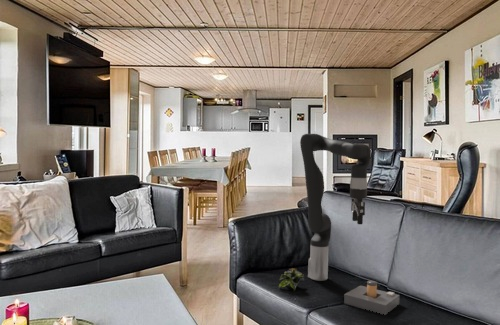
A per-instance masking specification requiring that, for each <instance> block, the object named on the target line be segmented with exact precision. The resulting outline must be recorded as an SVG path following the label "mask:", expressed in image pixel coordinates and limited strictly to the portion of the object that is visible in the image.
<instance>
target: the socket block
mask: <svg viewBox="0 0 500 325" xmlns="http://www.w3.org/2000/svg"><path fill="white" fill-rule="evenodd" d="M343 297H344V301H343V304H344V305H349V306H352V307H355V308H358V309H361V310H365V309H366V310H365V311H369V310H370V311H369V312H372V311H373V312H372V313H376V312H377V313H376V314H379V313H380V315H383V314H384V315H383V316H386V315H387V314H389V313H390V312H391V311H392V310H393V309H395V308H396V307H397V305H398V306H399V305H400V294H397V293H395V292H393V291H385V290H382V289H381V290H380V289H377V298H373V297H369V296H367V286H364V285H359V286H357V287H355V288H353V289H351V290H349V291H347V292H346V293H344V294H343ZM388 312H389V313H388Z"/></svg>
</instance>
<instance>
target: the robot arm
mask: <svg viewBox="0 0 500 325" xmlns="http://www.w3.org/2000/svg"><path fill="white" fill-rule="evenodd" d="M299 143H300V150H301V155H302V161H303V166H304V175H305V187H306V195H307V196H306V197H307V218H308V219H307V221H308V222H307V223H308V228H309V229H310V231H311V232H312V233H313V234H314V235H313V236H312V238H311V239H310V253H309V258H308V260H307V261H308V265H307V278H309V279H311V280H314V281H319V282H321V281H327V280H328V275H329V274H328V272H329V244H330V243H329V242H330V240H331V236H332V233H331V232H332V222H331V221H332V220H331V218H330V216H329V215H328V214H326V213H323V212H322V211H323V210H322V202H323V197H324V193H325V181H324V175H323V173H322V170H321V169H320V167H319V166H318V164H317V162H316V160H315V154H314V152H317V151H318V152H319V151H328V152H330V153H332V154H333V155H336V156H341V157H346V158H348V159H351V160H355V161H356V160H357V161H356V164H353V165H351V169H350V170H351V171H350V180H349V182H350V183H349V187H350V188H349V198H350V199H351V206H350V211H351V212H352V213H351V214H352V220H351V221H353V222H357V225H363V222H364V219H363V217H364V216H366V213H365V212H366V202H365V201H363V199H367V195H368V181H367V180H368V179H367V178H368V176H367V175H368V167H369V164H370V160H371V155H372V150H371V148H370V147H369V145H367V144H361V143H360V144H358V143H351V142H348V141H345V140H340V139H339V140H338V139H331V138H328V137H326V136H324V135H321V134H318V133H304V134H302V135H301V137H300V142H299Z"/></svg>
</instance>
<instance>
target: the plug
mask: <svg viewBox="0 0 500 325" xmlns="http://www.w3.org/2000/svg"><path fill="white" fill-rule="evenodd" d="M366 283H367V284H366V287H367V296H369V297H373V298H377V290H378V282H377V281H375V280H367V282H366Z"/></svg>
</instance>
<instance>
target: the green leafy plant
mask: <svg viewBox="0 0 500 325" xmlns="http://www.w3.org/2000/svg"><path fill="white" fill-rule="evenodd" d="M281 280H282V281H281ZM279 281H281V282H280V283H279V285H278V288H279V289H282V288H285V287H287V286H289V285H290V287H291V288H292V289H293V292H295V291H296V288H297V286H298V285H299V283H300V282H301V281H303V282H304V281H305V274H304V273H302V272H300V271H299V270H297V268H293V267H291V268H288V270H287V271H284V274H281V276H280V277H279Z"/></svg>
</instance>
